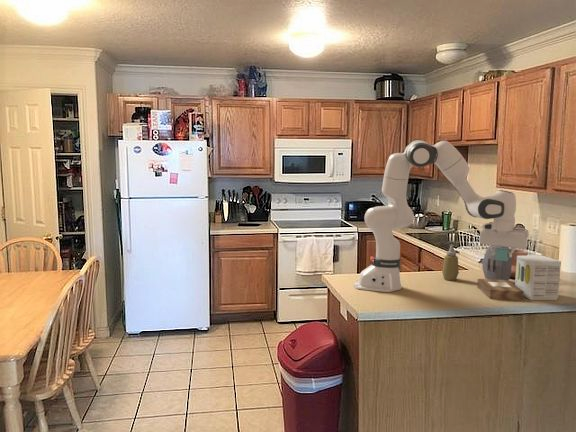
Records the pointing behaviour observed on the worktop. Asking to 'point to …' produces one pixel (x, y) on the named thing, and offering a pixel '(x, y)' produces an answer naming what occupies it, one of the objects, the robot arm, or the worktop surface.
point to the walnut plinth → (500, 289)
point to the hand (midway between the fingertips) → (501, 256)
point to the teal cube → (501, 254)
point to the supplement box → (538, 277)
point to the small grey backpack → (496, 266)
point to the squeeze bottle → (450, 265)
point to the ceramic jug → (514, 260)
